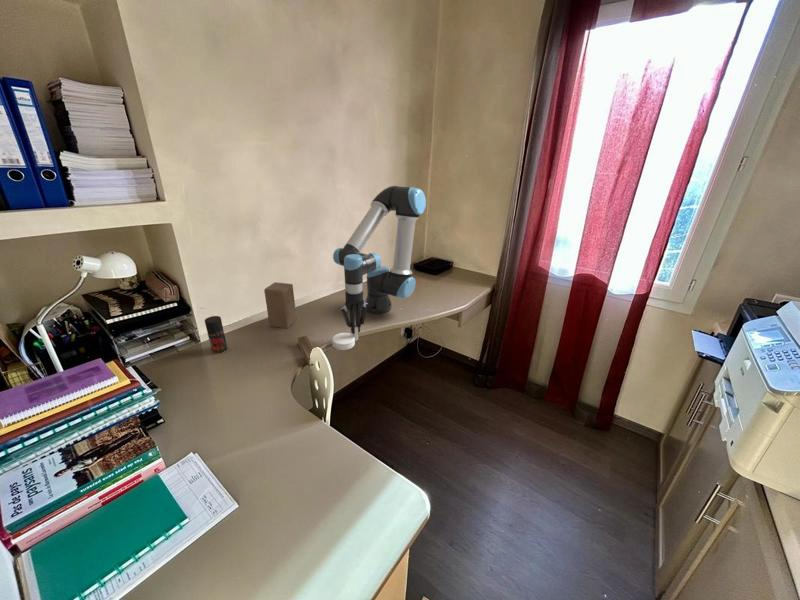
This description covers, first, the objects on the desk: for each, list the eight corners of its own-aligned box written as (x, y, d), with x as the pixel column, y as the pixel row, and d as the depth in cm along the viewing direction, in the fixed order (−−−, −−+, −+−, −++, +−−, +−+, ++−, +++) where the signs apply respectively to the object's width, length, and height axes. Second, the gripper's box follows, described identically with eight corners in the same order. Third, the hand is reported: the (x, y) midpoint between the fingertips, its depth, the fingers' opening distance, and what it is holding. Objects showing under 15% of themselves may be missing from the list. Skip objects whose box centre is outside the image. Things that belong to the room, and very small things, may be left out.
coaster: (328, 347, 149) (327, 340, 147) (340, 337, 157) (339, 330, 156) (347, 352, 145) (347, 345, 144) (359, 341, 154) (358, 335, 152)
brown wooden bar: (307, 342, 152) (306, 335, 150) (318, 363, 138) (318, 355, 136) (298, 344, 150) (297, 337, 149) (308, 365, 136) (308, 358, 134)
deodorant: (208, 352, 143) (201, 321, 137) (220, 345, 148) (213, 314, 142) (219, 355, 141) (212, 323, 135) (230, 348, 146) (224, 317, 140)
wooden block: (287, 329, 162) (282, 291, 154) (268, 326, 164) (263, 288, 156) (297, 319, 171) (293, 283, 163) (279, 317, 173) (274, 281, 165)
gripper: (364, 285, 149) (365, 332, 159) (336, 290, 143) (339, 338, 153) (371, 291, 143) (372, 339, 153) (342, 296, 137) (345, 346, 147)
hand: (355, 338), depth 153 cm, fingers closed
